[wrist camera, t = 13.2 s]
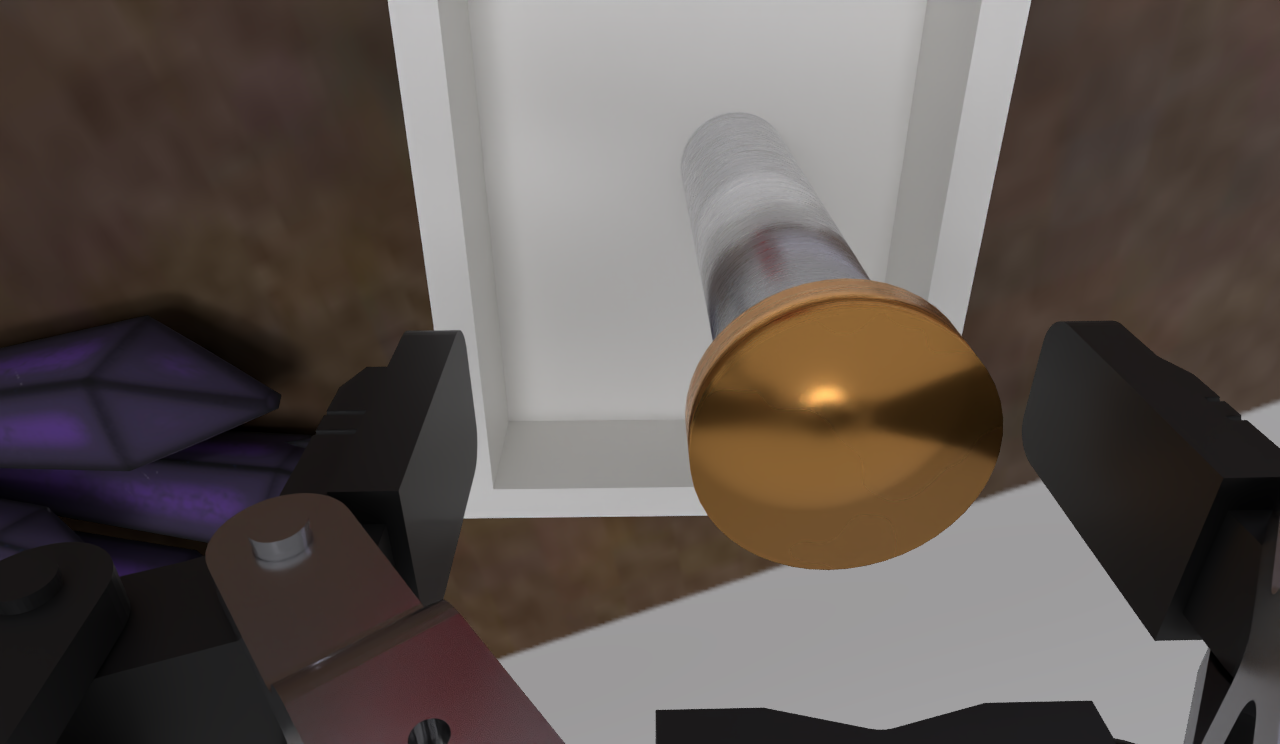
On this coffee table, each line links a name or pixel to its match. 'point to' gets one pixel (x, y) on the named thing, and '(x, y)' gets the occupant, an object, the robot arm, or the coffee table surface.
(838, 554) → the lock pin
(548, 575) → the coffee table surface
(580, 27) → the tray
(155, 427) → the crystal
